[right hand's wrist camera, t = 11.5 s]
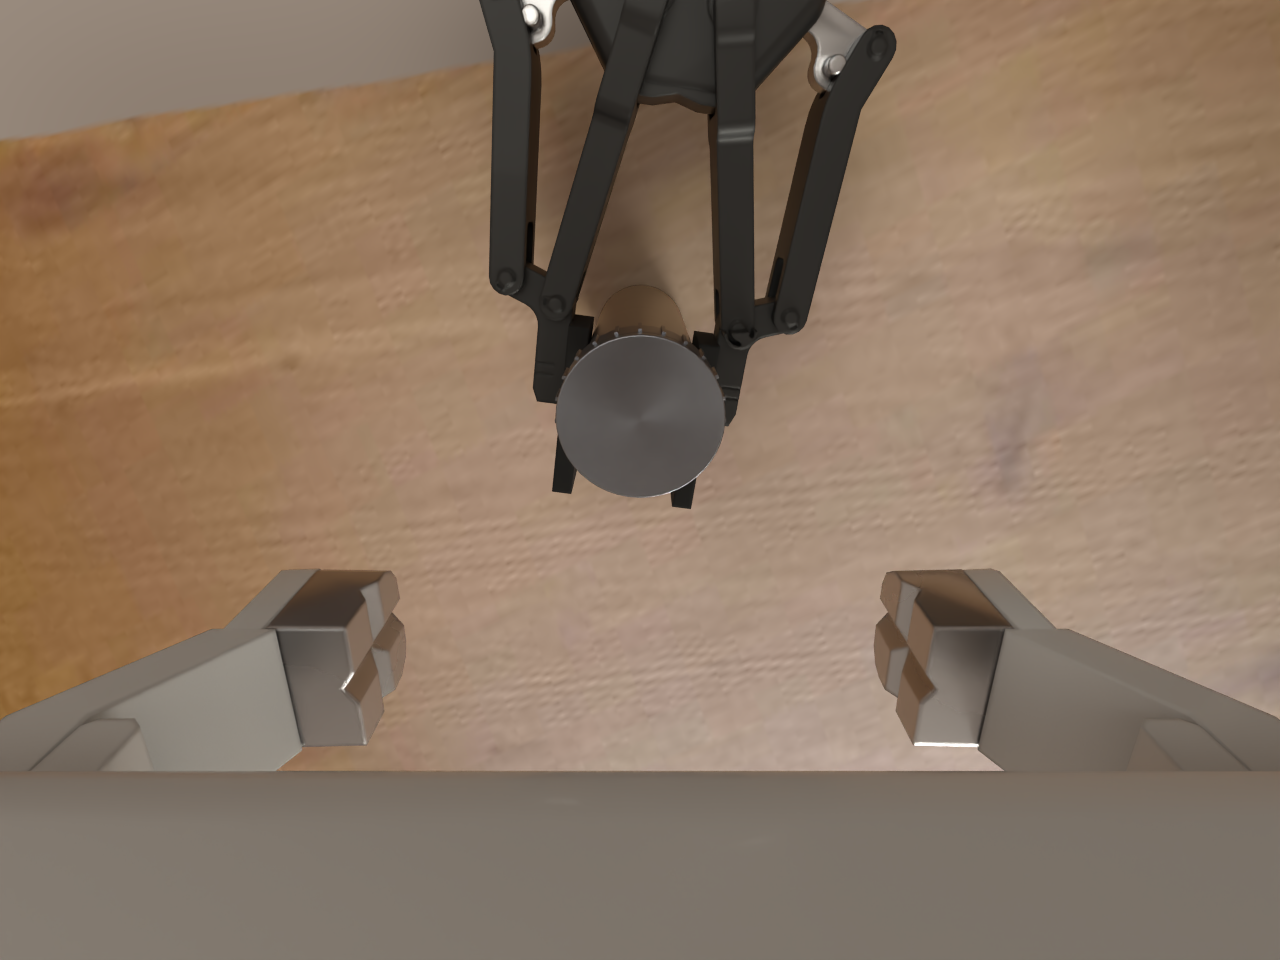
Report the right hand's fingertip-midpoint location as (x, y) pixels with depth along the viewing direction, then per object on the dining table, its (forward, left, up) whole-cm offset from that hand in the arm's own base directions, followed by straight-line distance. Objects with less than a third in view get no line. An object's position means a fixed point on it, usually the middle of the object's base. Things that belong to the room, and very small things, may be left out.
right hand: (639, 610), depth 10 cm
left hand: (-4, -4, -18) cm, 19 cm away
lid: (0, 0, -10) cm, 10 cm away
